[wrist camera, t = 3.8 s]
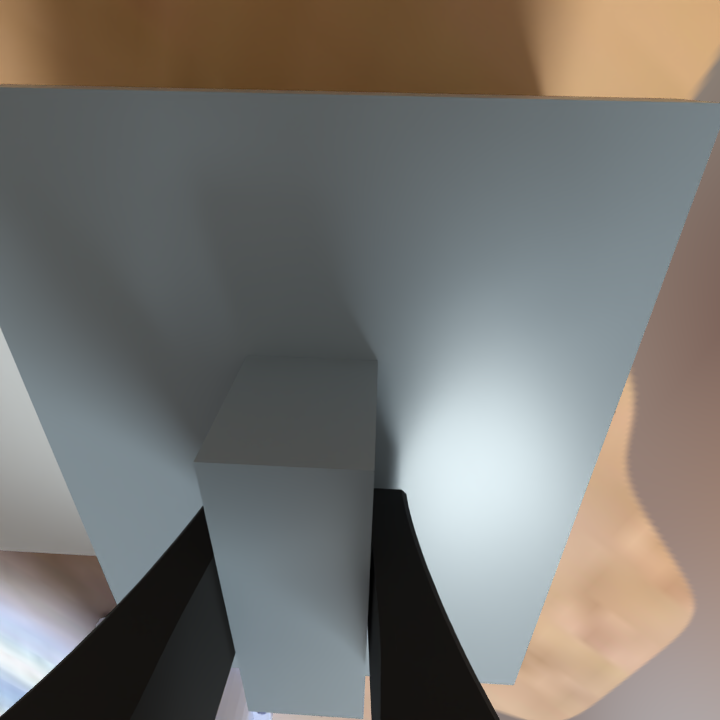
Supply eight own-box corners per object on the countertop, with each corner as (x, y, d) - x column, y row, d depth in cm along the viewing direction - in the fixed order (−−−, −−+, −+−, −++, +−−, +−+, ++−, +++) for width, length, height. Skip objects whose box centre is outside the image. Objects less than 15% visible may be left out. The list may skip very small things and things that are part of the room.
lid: (504, 637, 15) (539, 809, 12) (159, 617, 16) (92, 776, 12) (674, 98, 7) (939, 119, 4) (-28, 83, 8) (-378, 90, 4)
